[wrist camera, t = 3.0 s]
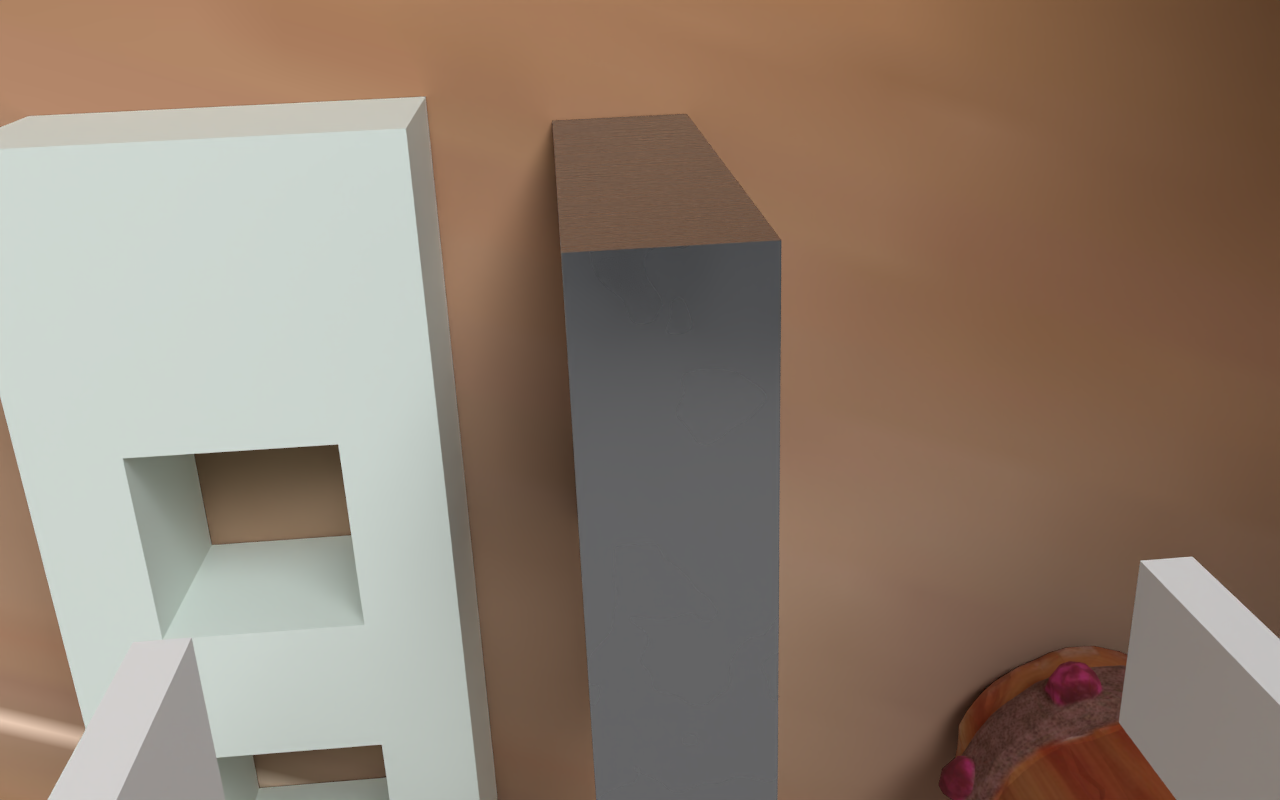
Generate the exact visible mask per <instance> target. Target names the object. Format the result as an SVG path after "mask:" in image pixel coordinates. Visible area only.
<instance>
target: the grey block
mask: <svg viewBox="0 0 1280 800" xmlns="http://www.w3.org/2000/svg"><path fill="white" fill-rule="evenodd" d="M552 124H553V140H554V155H555V171H556V187H557V202H558V218H559V233H560V248H561V263H562V278H563V293H564V308H565V324H566V339H567V355H568V370H569V386H570V402H571V417H572V436H573V452H574V467H575V483H576V498H577V514H578V529H579V545H580V560H581V575H582V590H583V605H584V621H585V636H586V651H587V666H588V682H589V697H590V712H591V727H592V743H593V758H594V773H595V788H596V800H777V778H778V634H779V490H780V346H781V239H780V238H779V237H778V235H777V234H776V233H775V231H774V230H773V229H772V227H771V226H770V225H769V223H768V222H767V221H766V219H765V218H764V217H763V215H762V214H761V213H760V211H759V210H758V208H757V207H756V206H755V204H754V203H753V202H752V200H751V199H750V198H749V196H748V195H747V194H746V192H745V191H744V190H743V188H742V187H741V186H740V184H739V183H738V182H737V180H736V179H735V178H734V176H733V175H732V174H731V172H730V171H729V170H728V168H727V167H726V166H725V164H724V163H723V162H722V160H721V159H720V158H719V156H718V155H717V154H716V152H715V151H714V150H713V148H712V147H711V146H710V144H709V143H708V142H707V140H706V139H705V138H704V136H703V135H702V134H701V132H700V131H699V130H698V128H697V127H696V126H695V124H694V123H693V121H692V120H691V119H690V117H689V116H688V115H687V114H677V115H657V116H637V117H618V118H598V119H578V120H558V121H552Z"/></svg>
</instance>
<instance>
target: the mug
mask: <svg viewBox="0 0 1280 800" xmlns="http://www.w3.org/2000/svg"><path fill="white" fill-rule="evenodd" d="M1127 656H1128V655H1126V654H1124V653H1122V652H1120V651H1115V650H1109V649H1105V648H1101V647H1096V646H1084V647H1068V648H1063V649H1060V650H1057V651H1054V652H1050V653H1048V654H1046V655H1044V656H1042V657H1040V658H1038V659H1036V660H1033V661H1031V662H1029V663H1026V664H1024V665H1021V666H1019V667H1017V668H1015V669H1014V670H1012V671H1011V672H1009V673H1007V674H1006V675H1004V676H1003V677H1001V678H999V679H998V680H996V681H994V682H993V683H992V684H991V685H990V686H989V687H988V688H987V689H985V690H984V691H983V692H982V693H981V695H980V696H979V697H978V698H977V699H976V700H975V701H974V703H973V704H972V705H971V707H970V708H969V709H968V711H967V712H966V714H965V716H964V717H963V719H962V721H961V723H960V725H959V734H958V747H957V752H956V757H955V759H953V760H952V761H951V762H950V763H948V764H947V765H946V766H945V767H944V768H943V769H942V772H941V777H940V781H939V787H940V789H941V790H942V792H943V794H945V795H946V796H948V797H949V798H950V799H952V800H1176V799H1175V797H1174V796H1173V794H1172V793H1171V792H1170V790H1169V789H1168V788H1167V786H1166V785H1165V784H1164V782H1163V781H1162V780H1161V778H1160V777H1159V776H1158V774H1157V773H1156V772H1155V770H1154V769H1153V768H1152V766H1151V765H1150V764H1149V762H1148V761H1147V760H1146V758H1145V757H1144V756H1143V754H1142V753H1141V752H1140V750H1139V749H1138V747H1137V746H1136V745H1135V743H1134V742H1133V741H1132V739H1131V738H1130V737H1129V735H1128V734H1127V733H1126V731H1125V730H1124V729H1123V727H1122V726H1121V725H1120V723H1119V716H1120V708H1121V701H1122V693H1123V686H1124V678H1125V671H1126V664H1127Z"/></svg>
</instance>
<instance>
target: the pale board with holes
mask: <svg viewBox="0 0 1280 800" xmlns="http://www.w3.org/2000/svg"><path fill="white" fill-rule="evenodd" d="M0 397H1V401H2V405H3V409H4V413H5V417H6V421H7V425H8V429H9V432H10V436H11V440H12V444H13V448H14V452H15V456H16V460H17V464H18V468H19V471H20V475H21V479H22V483H23V487H24V491H25V495H26V499H27V503H28V506H29V510H30V514H31V518H32V522H33V526H34V530H35V534H36V538H37V542H38V545H39V549H40V553H41V557H42V561H43V565H44V569H45V573H46V577H47V580H48V584H49V588H50V592H51V596H52V600H53V604H54V608H55V612H56V615H57V619H58V623H59V627H60V631H61V635H62V639H63V643H64V647H65V651H66V654H67V658H68V662H69V666H70V670H71V674H72V678H73V682H74V686H75V689H76V693H77V697H78V701H79V705H80V709H81V713H82V717H83V721H84V725H85V728H87V726H88V724H89V722H90V720H91V719H92V717H93V715H94V713H95V711H96V709H97V708H98V706H99V704H100V702H101V700H102V698H103V696H104V695H105V693H106V691H107V689H108V687H109V685H110V684H111V682H112V680H113V678H114V676H115V674H116V672H117V671H118V669H119V667H120V665H121V663H122V661H123V659H124V658H125V656H126V654H127V652H128V650H129V648H130V647H131V645H132V643H133V642H141V641H153V640H166V639H178V638H190V637H192V642H193V647H194V651H195V656H196V661H197V666H198V671H199V676H200V680H201V685H202V690H203V695H204V700H205V705H206V709H207V714H208V719H209V724H210V729H211V733H212V738H213V743H214V748H215V753H216V758H217V762H218V767H219V772H220V777H221V782H222V787H223V791H224V796H225V800H498V798H497V788H496V778H495V769H494V759H493V749H492V739H491V730H490V720H489V710H488V700H487V691H486V681H485V671H484V661H483V652H482V642H481V632H480V622H479V613H478V603H477V593H476V583H475V574H474V564H473V554H472V544H471V535H470V525H469V515H468V505H467V496H466V486H465V476H464V466H463V457H462V447H461V437H460V427H459V418H458V408H457V398H456V388H455V379H454V369H453V359H452V349H451V340H450V330H449V320H448V310H447V301H446V291H445V281H444V271H443V262H442V252H441V242H440V232H439V223H438V213H437V203H436V193H435V184H434V174H433V164H432V154H431V145H430V135H429V125H428V115H427V106H426V97H409V98H389V99H368V100H348V101H327V102H307V103H287V104H266V105H246V106H226V107H205V108H185V109H164V110H144V111H124V112H103V113H83V114H62V115H42V116H28V117H25V118H23V119H20V120H18V121H15V122H13V123H10V124H7V125H5V126H2V127H0ZM336 444H338V446H339V453H340V460H341V467H342V474H343V481H344V488H345V494H346V501H347V508H348V515H349V522H350V529H351V535H348V536H334V537H320V538H306V539H291V540H277V541H263V542H248V543H234V544H220V545H212V544H211V539H210V534H209V529H208V524H207V518H206V513H205V508H204V503H203V498H202V493H201V488H200V483H199V477H198V472H197V467H196V462H195V457H194V454H199V453H214V452H229V451H244V450H260V449H275V448H290V447H305V446H321V445H336ZM369 745H382V750H383V757H384V764H385V771H386V777H387V778H376V779H363V780H351V781H339V782H327V783H315V784H302V785H290V786H278V787H266V788H259V785H258V780H257V775H256V770H255V764H254V759H253V755H257V754H269V753H282V752H294V751H307V750H319V749H332V748H344V747H357V746H369Z"/></svg>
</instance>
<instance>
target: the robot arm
mask: <svg viewBox="0 0 1280 800" xmlns="http://www.w3.org/2000/svg"><path fill="white" fill-rule="evenodd" d="M1119 723H1120V725H1121V726H1122V727H1123V729H1124V730H1125V731H1126V733H1127V734H1128V735H1129V737H1130V738H1131V739H1132V741H1133V742H1134V743H1135V745H1136V746H1137V747H1138V749H1139V750H1140V752H1141V753H1142V754H1143V756H1144V757H1145V758H1146V760H1147V761H1148V762H1149V764H1150V765H1151V766H1152V768H1153V769H1154V770H1155V772H1156V773H1157V774H1158V776H1159V777H1160V778H1161V780H1162V781H1163V782H1164V784H1165V785H1166V786H1167V788H1168V789H1169V790H1170V792H1171V793H1172V794H1173V796H1174V797H1175V799H1176V800H1280V639H1279V638H1278V637H1277V636H1276V635H1275V634H1274V633H1273V632H1272V631H1270V630H1269V629H1268V628H1267V627H1266V626H1265V625H1264V624H1263V623H1262V622H1261V621H1260V620H1259V619H1258V618H1257V617H1256V616H1255V615H1254V614H1253V613H1251V612H1250V611H1249V610H1248V609H1247V608H1246V607H1245V606H1244V605H1243V604H1242V603H1241V602H1240V601H1239V600H1238V599H1237V598H1236V597H1235V596H1234V595H1232V594H1231V593H1230V592H1229V591H1228V590H1227V589H1226V588H1225V587H1224V586H1223V585H1222V584H1221V583H1220V582H1219V581H1218V580H1217V579H1216V578H1215V577H1213V576H1212V575H1211V574H1210V573H1209V572H1208V571H1207V570H1206V569H1205V568H1204V567H1203V566H1202V565H1201V564H1200V563H1199V562H1198V561H1197V560H1196V559H1194V558H1193V557H1181V558H1168V559H1156V560H1143V561H1140V566H1139V574H1138V581H1137V589H1136V596H1135V604H1134V611H1133V619H1132V626H1131V634H1130V641H1129V649H1128V656H1127V664H1126V671H1125V678H1124V686H1123V693H1122V701H1121V708H1120V716H1119ZM48 800H225V796H224V791H223V787H222V782H221V777H220V772H219V767H218V762H217V758H216V753H215V748H214V743H213V738H212V733H211V729H210V724H209V719H208V714H207V709H206V705H205V700H204V695H203V690H202V685H201V680H200V676H199V671H198V666H197V661H196V656H195V651H194V647H193V642H192V637H190V638H178V639H166V640H153V641H141V642H133V643H132V645H131V647H130V648H129V650H128V652H127V654H126V656H125V658H124V659H123V661H122V663H121V665H120V667H119V669H118V671H117V672H116V674H115V676H114V678H113V680H112V682H111V684H110V685H109V687H108V689H107V691H106V693H105V695H104V696H103V698H102V700H101V702H100V704H99V706H98V708H97V709H96V711H95V713H94V715H93V717H92V719H91V720H90V722H89V724H88V726H87V728H86V730H85V732H84V733H83V735H82V737H81V739H80V741H79V743H78V744H77V746H76V748H75V750H74V752H73V754H72V756H71V757H70V759H69V761H68V763H67V765H66V767H65V768H64V770H63V772H62V774H61V776H60V778H59V780H58V781H57V783H56V785H55V787H54V789H53V791H52V793H51V794H50V796H49V798H48Z"/></svg>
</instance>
